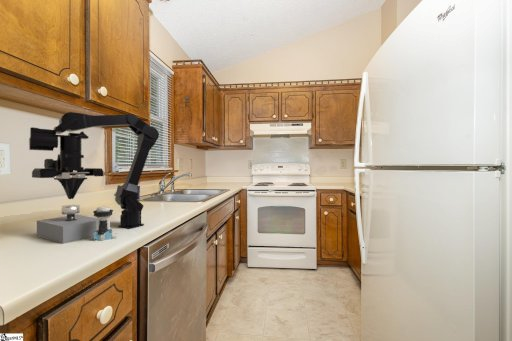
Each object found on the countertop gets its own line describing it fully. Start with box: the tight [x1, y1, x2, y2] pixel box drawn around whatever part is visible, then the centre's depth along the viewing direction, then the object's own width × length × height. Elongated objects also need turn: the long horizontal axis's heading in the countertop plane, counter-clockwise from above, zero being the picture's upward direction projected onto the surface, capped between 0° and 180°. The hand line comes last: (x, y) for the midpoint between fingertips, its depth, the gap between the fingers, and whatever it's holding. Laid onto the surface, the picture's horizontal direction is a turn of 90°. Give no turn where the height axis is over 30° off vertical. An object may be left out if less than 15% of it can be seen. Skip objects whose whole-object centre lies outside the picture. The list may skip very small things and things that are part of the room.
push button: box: [92, 206, 118, 242], centre depth 80 cm, size 7×5×10 cm
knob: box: [61, 204, 81, 221], centre depth 84 cm, size 5×5×8 cm
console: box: [36, 214, 100, 244], centre depth 84 cm, size 12×16×5 cm
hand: (70, 198), depth 84 cm, fingers closed
